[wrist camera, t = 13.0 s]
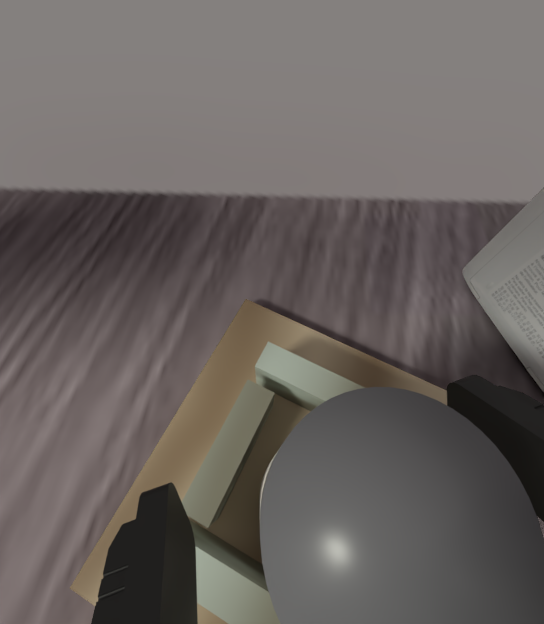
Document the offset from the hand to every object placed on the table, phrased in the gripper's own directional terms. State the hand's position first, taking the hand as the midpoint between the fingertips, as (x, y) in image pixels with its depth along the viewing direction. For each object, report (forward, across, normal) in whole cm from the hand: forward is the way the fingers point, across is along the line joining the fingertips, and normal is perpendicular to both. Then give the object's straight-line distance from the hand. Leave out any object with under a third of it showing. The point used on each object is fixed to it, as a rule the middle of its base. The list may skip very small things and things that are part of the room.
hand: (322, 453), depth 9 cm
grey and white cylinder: (+3, 0, +5) cm, 6 cm away
